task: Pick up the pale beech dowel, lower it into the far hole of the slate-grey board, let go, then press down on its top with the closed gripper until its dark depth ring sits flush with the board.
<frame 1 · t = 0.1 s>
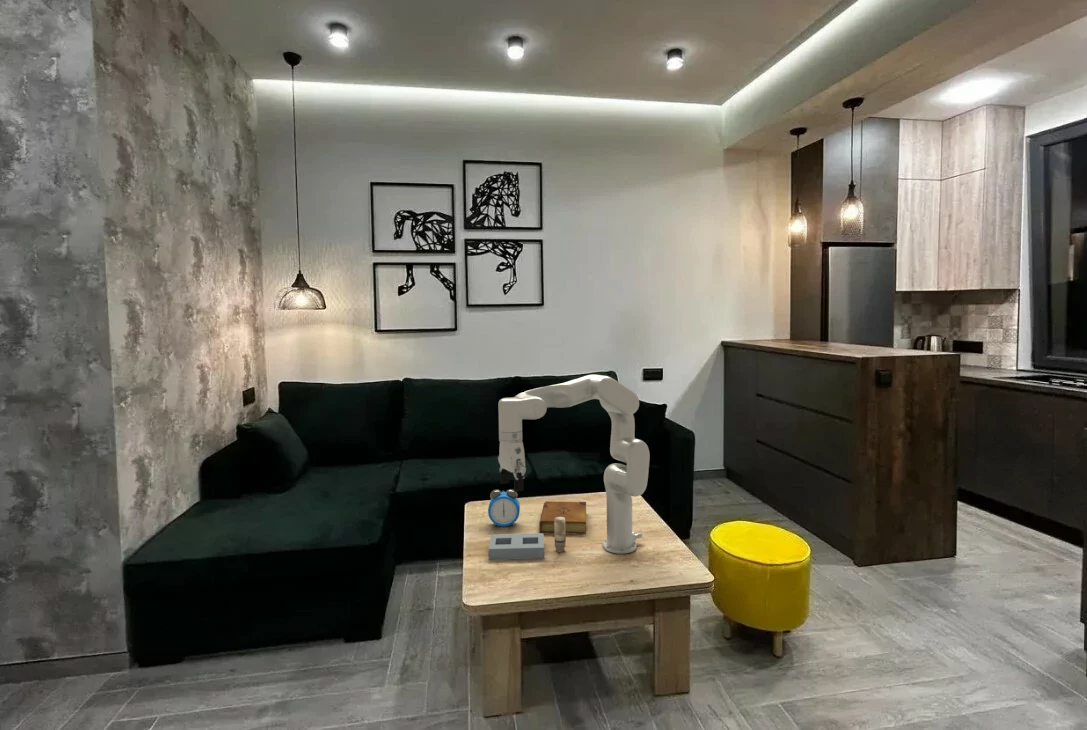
hand: (511, 487, 179), 31 cm above the table, tool pointing down, fingers open, 9 cm apart
board: (517, 551, 202), on the table
diary: (563, 524, 230), on the table
alarm clock: (504, 525, 229), on the table
dowel: (560, 550, 203), on the table
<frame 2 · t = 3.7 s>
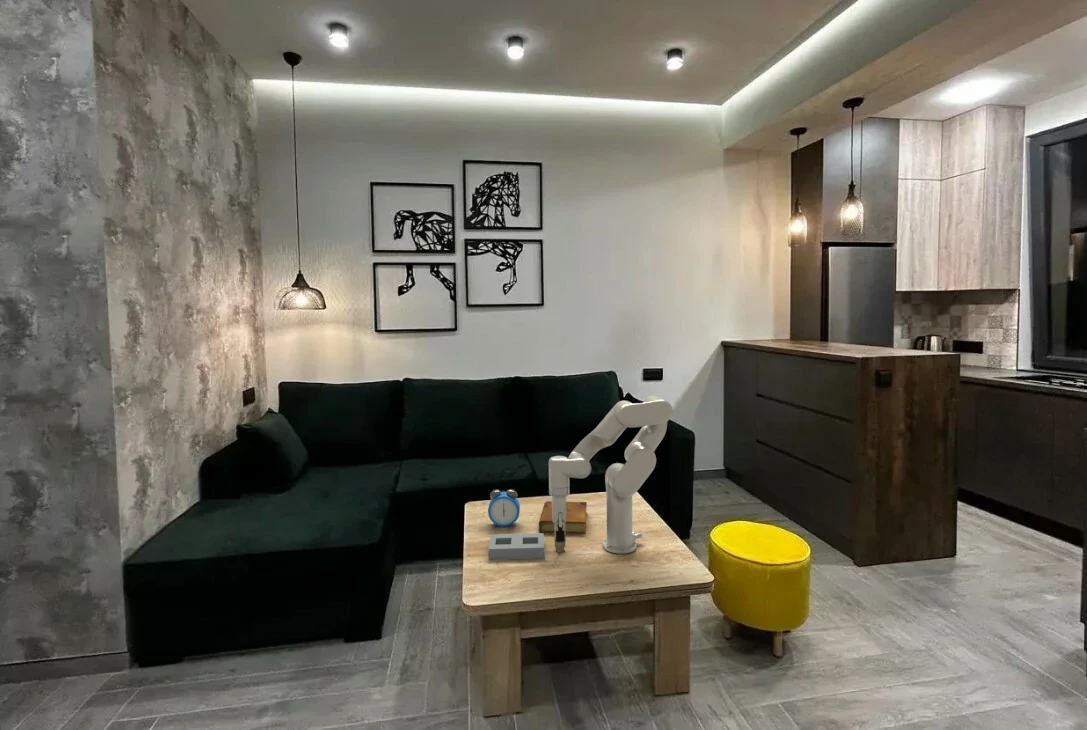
hand: (560, 537, 202), 5 cm above the table, tool pointing down, fingers closed on dowel, 4 cm apart
dowel: (560, 550, 203), on the table, touching gripper
everything else where it was.
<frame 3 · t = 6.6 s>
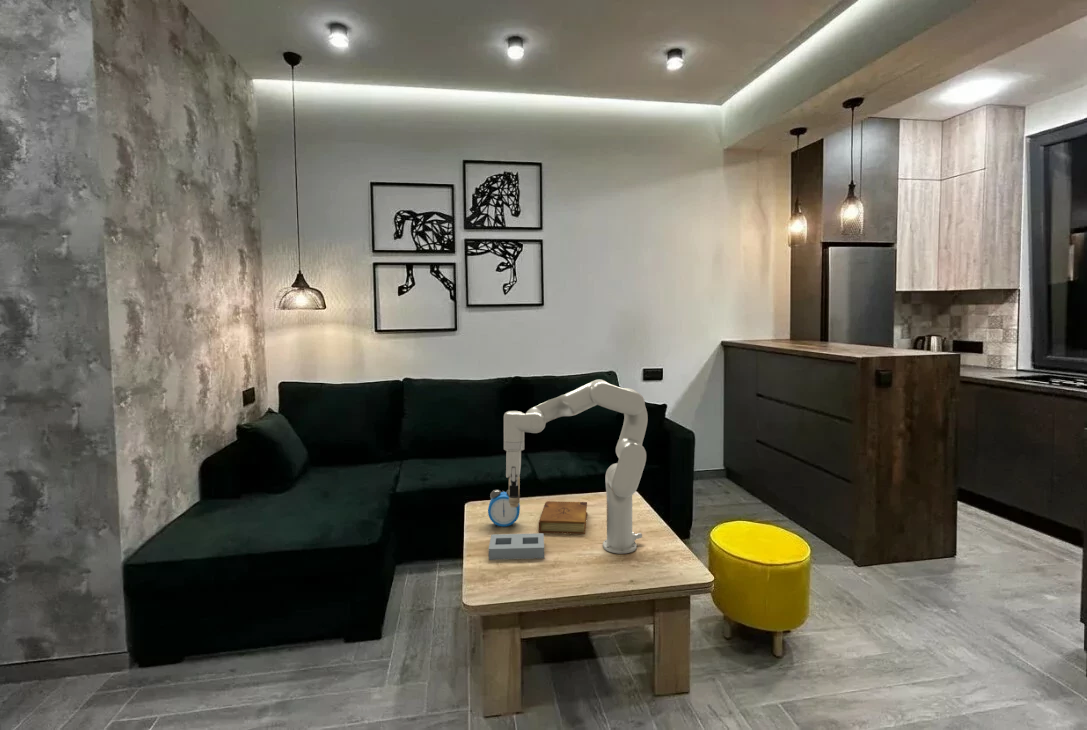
hand: (514, 493, 200), 22 cm above the table, tool pointing down, fingers closed on dowel, 4 cm apart
dowel: (514, 506, 201), point 17 cm above the table, touching gripper
everything else where it was.
when the fingers open (5 cm above the table, at t = 9.9 s): dowel stays where it is, resting in board.
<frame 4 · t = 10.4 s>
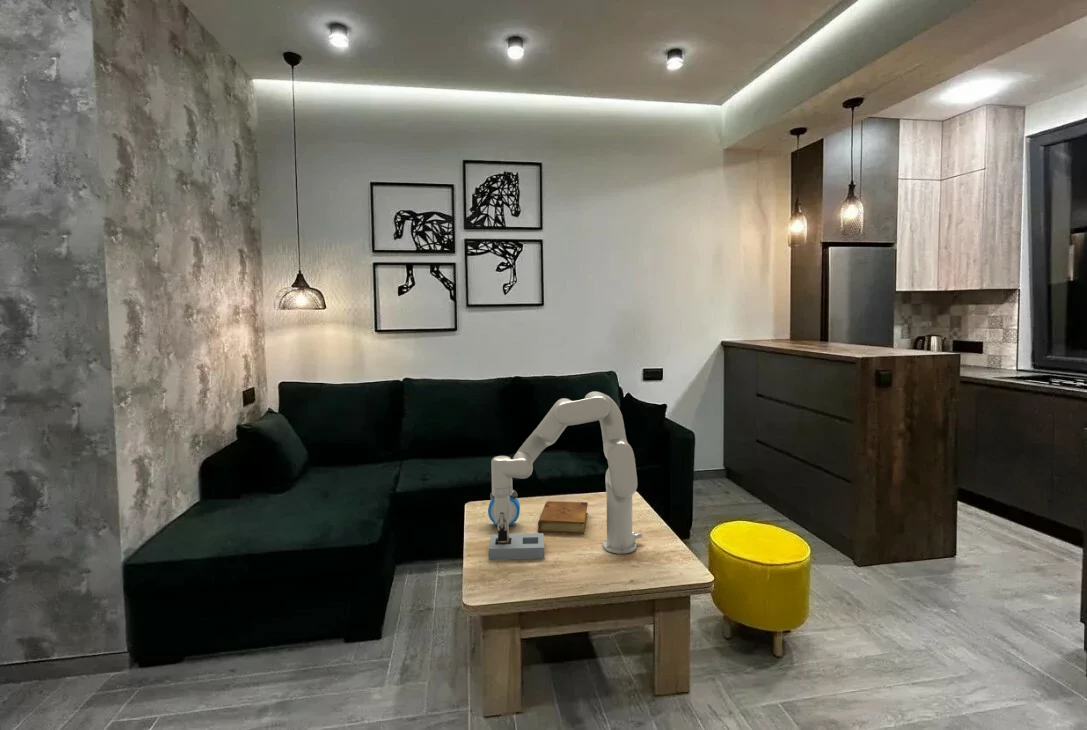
hand: (503, 535, 202), 6 cm above the table, tool pointing down, fingers open, 9 cm apart
dowel: (503, 551, 202), resting in board
everything else where it was.
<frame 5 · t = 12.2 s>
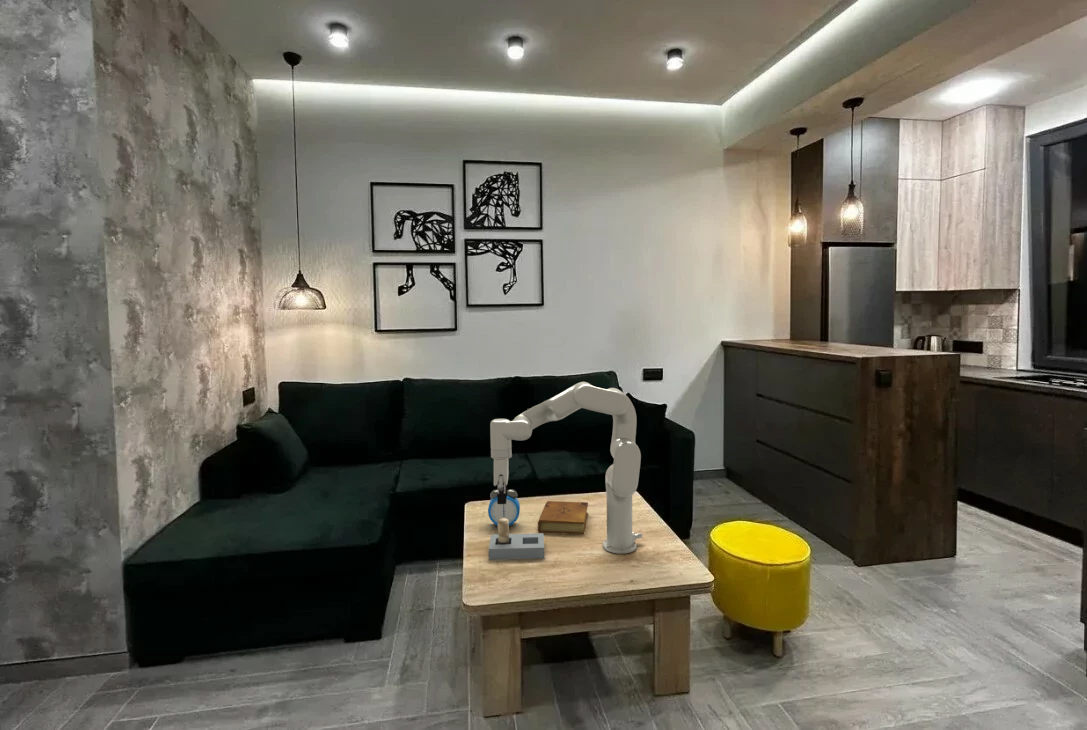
hand: (502, 500, 200), 20 cm above the table, tool pointing down, fingers open, 6 cm apart
nothing on the table moved.
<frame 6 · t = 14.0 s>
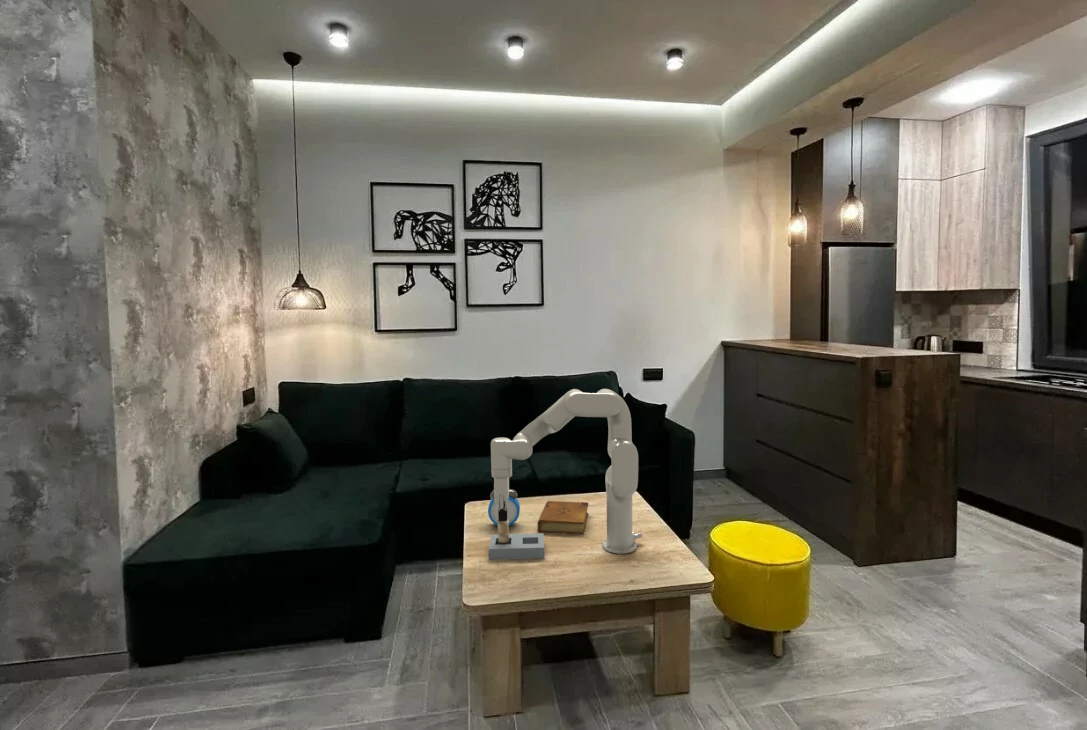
hand: (502, 520, 201), 12 cm above the table, tool pointing down, fingers closed
dowel: (503, 551, 202), resting in board, touching gripper
everything else where it was.
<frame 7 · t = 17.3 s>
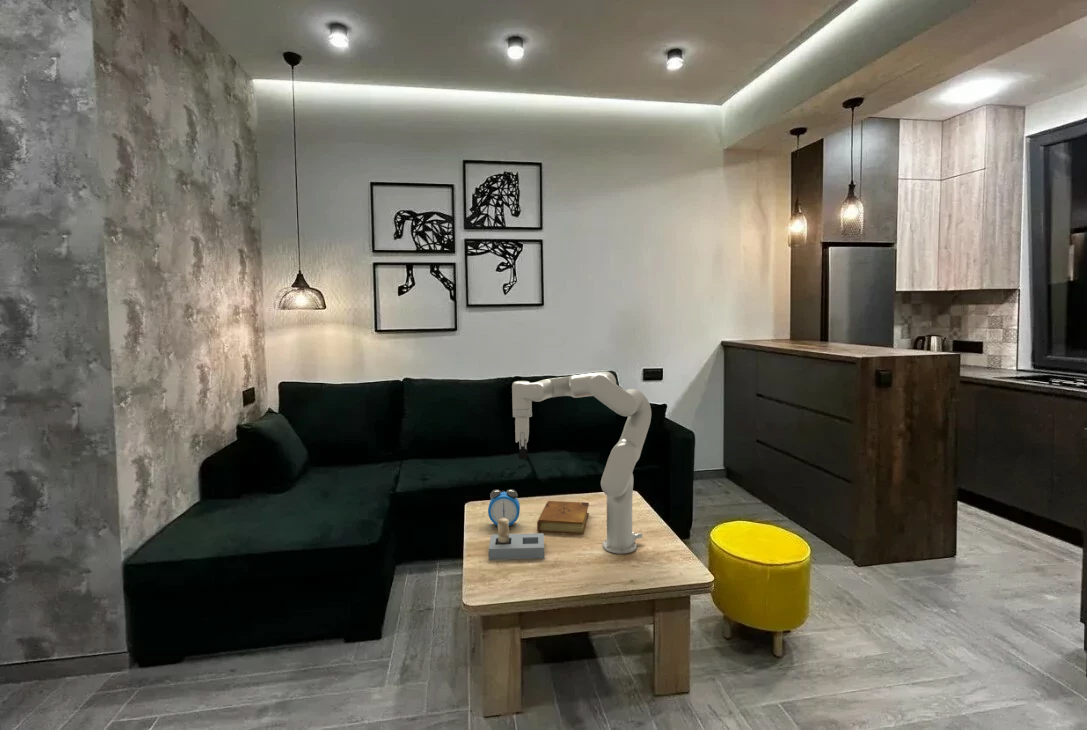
hand: (523, 458, 215), 31 cm above the table, tool pointing down, fingers closed
dowel: (503, 551, 202), resting in board
everything else where it was.
at the end: dowel 0.0 cm from the target spot on the board, point 0.0 cm above the board's base; dowel tilted 0°; the gripper is holding nothing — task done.
